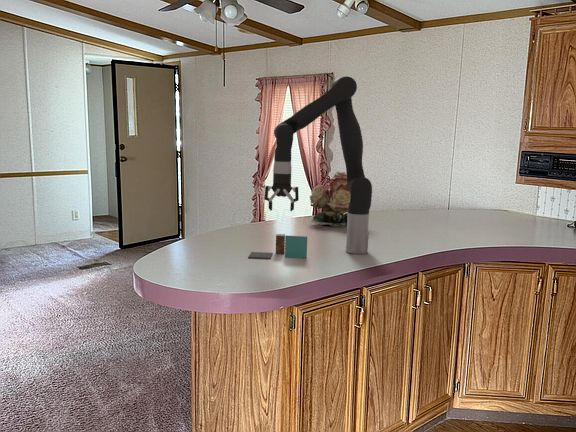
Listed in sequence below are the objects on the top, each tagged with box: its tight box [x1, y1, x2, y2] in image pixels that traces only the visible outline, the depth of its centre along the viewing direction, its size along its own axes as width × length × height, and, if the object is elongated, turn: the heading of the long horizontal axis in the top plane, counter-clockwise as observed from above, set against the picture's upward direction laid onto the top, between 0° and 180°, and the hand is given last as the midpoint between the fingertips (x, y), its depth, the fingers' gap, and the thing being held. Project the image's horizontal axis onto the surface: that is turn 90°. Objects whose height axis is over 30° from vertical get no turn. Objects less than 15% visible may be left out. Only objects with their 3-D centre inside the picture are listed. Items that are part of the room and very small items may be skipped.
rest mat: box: [248, 251, 273, 260], centre depth 219 cm, size 9×9×1 cm
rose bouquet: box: [309, 171, 351, 228], centre depth 302 cm, size 26×29×30 cm
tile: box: [284, 234, 308, 259], centre depth 218 cm, size 9×2×9 cm, turn 86°
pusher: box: [275, 233, 286, 255], centre depth 225 cm, size 4×4×8 cm
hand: (281, 210), depth 223 cm, fingers open, 8 cm apart
